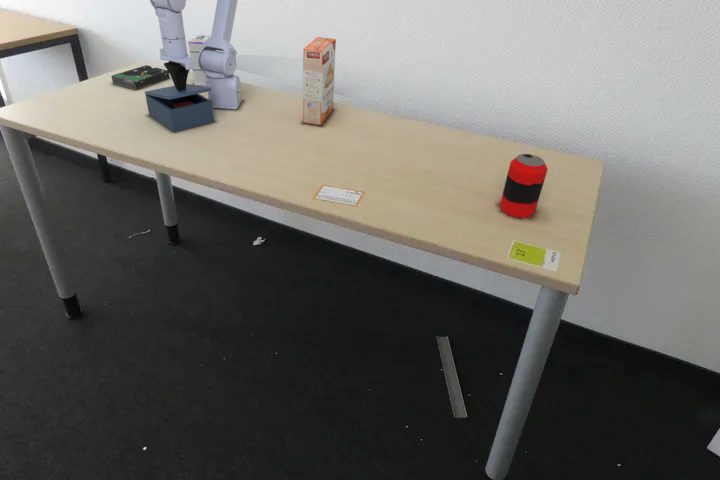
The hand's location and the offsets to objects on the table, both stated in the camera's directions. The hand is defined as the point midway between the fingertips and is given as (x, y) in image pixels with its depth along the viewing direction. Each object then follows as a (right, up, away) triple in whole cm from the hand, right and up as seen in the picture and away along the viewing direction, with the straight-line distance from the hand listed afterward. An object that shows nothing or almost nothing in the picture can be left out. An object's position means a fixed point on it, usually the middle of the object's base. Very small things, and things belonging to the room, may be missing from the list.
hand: (181, 89), depth 137 cm
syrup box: (-3, +12, +32) cm, 34 cm away
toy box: (-2, -6, +6) cm, 9 cm away
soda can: (+83, -34, -24) cm, 93 cm away
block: (0, -7, +4) cm, 8 cm away
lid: (-2, 0, +2) cm, 2 cm away
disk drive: (-23, +12, +30) cm, 40 cm away
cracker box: (+36, -4, +14) cm, 39 cm away
